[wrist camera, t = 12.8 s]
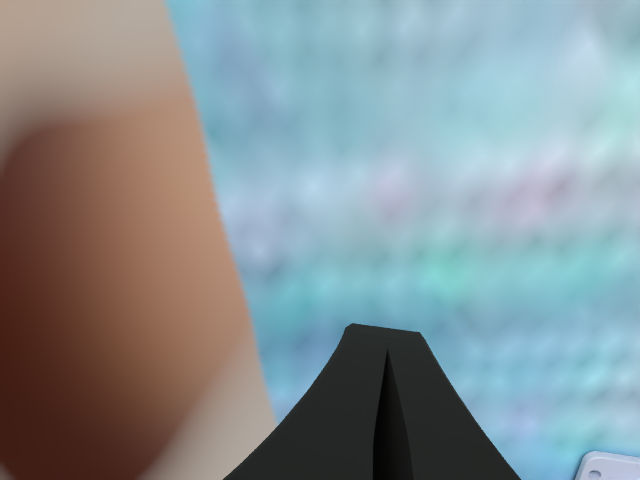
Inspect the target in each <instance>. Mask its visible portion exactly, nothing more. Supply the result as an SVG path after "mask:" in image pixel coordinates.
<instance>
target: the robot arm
mask: <svg viewBox="0 0 640 480" xmlns="http://www.w3.org/2000/svg"><path fill="white" fill-rule="evenodd" d="M594 470H596V471H594ZM591 471H594V472H591ZM223 480H521V479H520V478H519V477H518V475H517V474H516V473H515V472H514V470H513V469H512V468H511V467H510V465H509V464H508V463H507V462H506V460H505V459H504V458H503V457H502V455H501V454H500V453H499V451H498V450H497V449H496V447H495V446H494V445H493V444H492V442H491V441H490V440H489V438H488V437H487V436H486V434H485V433H484V432H483V430H482V429H481V427H480V426H479V425H478V423H477V422H476V421H475V419H474V418H473V416H472V415H471V413H470V412H469V410H468V409H467V407H466V406H465V404H464V403H463V401H462V400H461V398H460V397H459V396H458V394H457V393H456V391H455V389H454V388H453V386H452V385H451V383H450V382H449V380H448V378H447V377H446V375H445V373H444V372H443V370H442V369H441V367H440V365H439V363H438V362H437V360H436V358H435V357H434V355H433V353H432V351H431V349H430V348H429V346H428V344H427V342H426V340H425V339H424V337H423V336H422V335H421V333H420V332H413V331H406V330H398V329H391V328H383V327H376V326H368V325H361V324H354V323H352V324H350V325H349V326H347V327H346V328H345V331H344V334H343V336H342V338H341V340H340V342H339V344H338V346H337V348H336V350H335V351H334V353H333V355H332V356H331V358H330V359H329V361H328V363H327V364H326V366H325V367H324V368H323V370H322V371H321V373H320V374H319V375H318V377H317V378H316V380H315V381H314V383H313V384H312V385H311V387H310V388H309V389H308V391H307V392H306V393H305V394H304V396H303V397H302V398H301V399H300V400H299V402H298V403H297V404H296V405H295V406H294V408H293V409H292V410H291V411H290V412H289V414H288V415H287V416H286V417H285V418H284V420H283V421H282V422H281V423H280V424H279V425H278V426H277V427H276V428H275V430H274V431H273V432H272V433H271V434H270V435H269V436H268V437H267V438H266V439H265V440H264V441H263V442H262V443H261V444H260V445H259V446H258V447H257V448H256V449H255V450H254V451H253V452H252V453H251V454H250V455H249V456H248V457H247V458H246V459H245V460H244V461H243V462H242V463H241V464H240V465H239V466H238V467H236V468H235V469H234V470H233V471H232V472H231V473H230V474H229V475H228V476H226V477H225V478H224V479H223ZM575 480H640V458H639V457H632V456H626V455H619V454H613V453H606V452H599V451H592V452H589V453H587V454H586V455H585V456H584V457H583V459H582V462H581V465H580V467H579V470H578V473H577V475H576V478H575Z"/></svg>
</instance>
